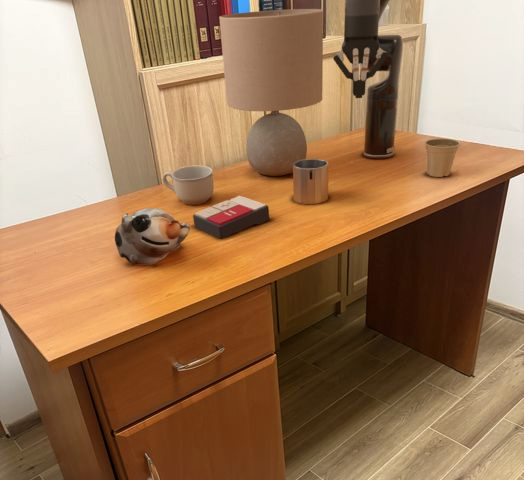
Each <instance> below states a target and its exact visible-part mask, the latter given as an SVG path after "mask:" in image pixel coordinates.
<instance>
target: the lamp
mask: <svg viewBox="0 0 524 480" xmlns="http://www.w3.org/2000/svg"><path fill="white" fill-rule="evenodd" d="M219 28H220V38H221V51H222V62H223V74H224V75H223V76H224V85H225V99H226V105H227V107H229V108H230V109H233V110H237V111H244V112H245V111H246V112H270V113H267V114H264V115H262V116H260V117H259V118H258V119H257V120H256V121H255V122H254V123H253V124H252V126H251V127H250V129H249V132H248V135H247V138H246V147H245V149H246V151H245V152H246V158H247V161H248V164H249V165H250V167H251V168H252V169H253V170H254V171H255V172H257V173H258V174H261V175H263V176H269V177H281V176H287V175H290V174H293V163H294V162H296V161H299V160H303V159H307V153H308V144H307V137H306V135H305V132H304V129H303V127H302V126H301V124H300V123H299V122H298V121H297V120H296V119H295V118H294V117H292V116H290V115H289V114H286V113H283V112H281V111H290V110H298V109H303V108H307V107H311V106H314V105H317V104H319V103H320V102H322V101H323V76H324V75H323V74H324V73H323V71H324V70H323V68H324V67H323V65H324V64H323V63H324V62H323V61H324V60H323V59H324V58H323V57H324V55H323V53H324V52H323V51H324V48H323V47H324V10H323V9H319V8H294V9H293V8H291V9H273V10H272V9H271V10H260V11H249V12H248V11H247V12H239V13H231V14H225V15H220V16H219Z"/></svg>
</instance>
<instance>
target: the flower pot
mask: <svg viewBox="0 0 524 480" xmlns="http://www.w3.org/2000/svg"><path fill="white" fill-rule="evenodd" d="M424 146H425V149H426V175H429V176H430V177H435V178H443V177H448V176H450V174H451V171H452V167H453V164H454V161H455V158H456V154H457V151H458V149H459V147H460V146H461V142H460V141H459V140H457V139H452V138H431V139H427V140H425V141H424Z"/></svg>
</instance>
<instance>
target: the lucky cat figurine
mask: <svg viewBox="0 0 524 480" xmlns="http://www.w3.org/2000/svg"><path fill="white" fill-rule="evenodd" d="M190 230H191V226H190V224H189V223H188V224H187V223H186V222H179V221H178V220H177V219H176V218H175V217H174V216H173V215H172V214H170V213H169V212H168V211H165V210H163V209H161V208H156V207H155V208H148V207H147V208H142V209H138V210H136V211H135V212H134V213H133V214H132V215H130V214H128V213H127V212H126V213H124V214H123V216H122V217H121V224H120V225H118V226H117V228H116V229H115V234H114V243H115V246H116V250H117V251H118V255H119V257H120V258H122V259H123V258H125V259H126V260H127V262H129V263H130V265H138V266H139V265H140V266H154V265H155V264H156V263H158V262H159V261H161V260H162V261H163V260H164V259H165V258H166V257H167V256H168V255H169V254H170V253H173V252H174V251H176V250H178V249H179V248H181V244H182V242H183V241H185V239H186V238H187V237H188V235H189V233H190Z"/></svg>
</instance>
